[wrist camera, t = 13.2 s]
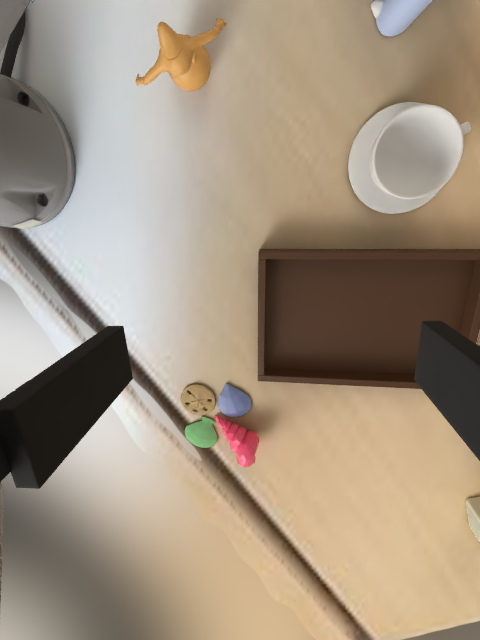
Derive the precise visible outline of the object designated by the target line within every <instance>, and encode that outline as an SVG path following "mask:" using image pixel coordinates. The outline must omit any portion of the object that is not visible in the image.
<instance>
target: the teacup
mask: <svg viewBox="0 0 480 640" xmlns="http://www.w3.org/2000/svg"><path fill="white" fill-rule="evenodd" d="M470 131H471V127H470V124H469V122H465V123H463V124H460V125H459V123H458V121H457V119H456V118H455V117H454V116H453V115H452V114H451V113H450V112H449V111H447V110H446V109H444V108H442V107H439V106H436V105H431V104H423V103H418V102H403V103H398V104H395V105H392V106H389V107H387V108H385V109H383V110H381V111H380V112H378V113H377V114H375V115H374V116H373V117H372V118H371V119H369V120H368V121H367V123H366V124H365V125H364V126H363V127H362V129H361V130H360V131H359V133H358V135H357V136H356V138H355V140H354V142H353V145H352V148H351V151H350V155H349V162H348V172H349V179H350V183H351V185H352V188H353V190H354V192H355V194H356V195H357V196H358V198H359V199H360V200H361V201H362V202H363V203H364V204H365V205H367V206H368V207H370V208H371V209H373V210H376V211H379V212H382V213H388V214H398V213H404V212H408V211H411V210H414V209H416V208H418V207H420V206H422V205H424V204H425V203H427V202H428V201H429V200H431V199H432V198H433V197H434V196H435V195H436V194H437V193H438V192H439V191H440V189H441V188H442V187H443V185H445V184H446V183H447V182H448V181H449V179H450V178H451V177H452V176H453V174H454V173H455V171H456V169H457V167H458V165H459V163H460V160H461V157H462V153H463V146H464V140H463V136H464V135H465V134H467V133H469V132H470Z"/></svg>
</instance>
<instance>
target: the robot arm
mask: <svg viewBox="0 0 480 640" xmlns="http://www.w3.org/2000/svg"><path fill="white" fill-rule="evenodd" d="M30 1H31V2H34V0H0V52H1V50H2V48H3V47H4V45H5V43H6V42H7V40H8V38H9V40H8V43H7V47H6V51H5V55H4V59H3V63H2V68H1V72H0V226H5V227H11V228H21V229H27V228H30V227H34V226H39V225H42V224H44V223H46V222H48V221H50V220H52V219H53V218H54V217H55V216H57V215H58V214H59V213H60V212H61V210H62V209H63V208H64V206H65V205H66V203H67V201H68V199H69V197H70V195H71V192H72V188H73V184H74V178H75V160H74V153H73V148H72V144H71V141H70V138H69V135H68V132H67V130H66V128H65V126H64V124H63V122H62V120H61V119H60V117H59V115H58V114H57V112H56V111H55V110H54V108H53V107H52V106H51V105H50V104H49V103H48V102H47V100H46V99H45V98H43V97H42V96H41V95H40V94H39V93H38V92H36V91H35V90H34V89H32V88H31V87H29V86H27V85H25V84H23V83H21V82H19V81H17V80H15V79H13V78H11V75H12V70H13V66H14V62H15V58H16V54H17V50H18V47H19V45H20V42H21V39H22V36H23V33H24V28H25V9H26V7H27V5H28V4H29V2H30ZM9 36H10V37H9ZM132 379H133V377H132V371H131V366H130V360H129V355H128V350H127V344H126V339H125V333H124V328H123V326H107V327H106V328H104V329H103V330H101V331H100V332H99V333H97V334H96V335H94V336H93V337H92V338H90V339H89V340H87V341H86V342H84V343H83V344H81V345H80V346H78V347H77V348H76V349H74V350H73V351H71V352H70V353H68V354H67V355H66V356H64V357H63V358H61V359H60V360H58V361H57V362H55V363H54V364H53V365H51V366H50V367H48V368H47V369H46V370H44V371H43V372H41V373H40V374H38V375H37V376H35V377H34V378H33V379H31V380H29V381H27V382H26V383H25V384H23V385H21V386H20V387H19V388H17V389H16V390H15V391H13V392H11V393H10V394H8V395H7V396H6V397H5V398H3V399H1V400H0V600H1V570H2V538H3V510H4V508H3V507H4V490H3V487H2V485H1V480H3V479H4V478H5V477H6V476H7V475H8V474H9V472H11V474H12V476H13V479H14V482H15V485H16V487H17V488H41V486H42V485H43V484H44V483H45V482H46V480H47V479H48V478H49V477H50V476H51V475H52V473H53V472H54V471H55V470H56V469H57V467H58V466H59V465H60V464H61V463H62V461H63V460H64V459H65V458H66V457H67V456H68V454H69V453H70V452H71V451H72V450H73V448H74V447H75V446H76V445H77V444H78V443H79V441H80V440H81V439H82V438H83V437H84V435H85V434H86V433H87V432H88V431H89V429H90V428H91V427H92V426H93V425H94V424H95V423H96V421H97V420H98V419H99V418H100V416H101V415H102V414H103V413H104V412H105V411H106V410H107V408H108V407H109V406H110V405H111V404H112V402H113V401H114V400H115V399H116V398H117V397H118V395H119V394H120V393H121V392H122V391H123V389H124V388H125V387H126V386H127V385H128V384H129V382H130V381H131V380H132ZM414 380H415V381H416V382H417V384H418V385H419V386H420V387H421V389H422V390H423V391H424V392H425V394H426V395H427V396H428V397H429V399H430V400H431V401H432V402H433V404H434V405H435V406H436V407H437V409H438V410H439V411H440V412H441V413H442V415H443V416H444V417H445V418H446V420H447V421H448V422H449V423H450V425H451V426H452V427H453V428H454V430H455V431H456V432H457V433H458V435H459V436H460V437H461V438H462V439H463V441H464V442H465V443H466V444H467V446H468V447H469V448H470V449H471V451H472V452H473V453H474V454H475V456H476V457H477V458H478V459H479V461H480V346H478V345H477V344H475V343H474V342H472V341H471V340H469V339H468V338H466V337H465V336H463V335H462V334H460V333H459V332H458V331H456V330H455V329H453V328H452V327H450V326H449V325H447V324H446V323H444V322H443V321H422V325H421V332H420V340H419V347H418V355H417V362H416V370H415V377H414Z"/></svg>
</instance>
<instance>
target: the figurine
mask: <svg viewBox="0 0 480 640" xmlns="http://www.w3.org/2000/svg"><path fill="white" fill-rule="evenodd" d="M216 20H217V21H218V23H217V24H216V25H215V27H214V28H213V29H212V30H211V31H207V32H204V33H202V34H199V35H198V36H194V37H189V36H188V35H182V34H177V33H175V32H174V31H173V30H172V28H171V27H169V26H168V25H167V24H166V23H164V22H160V23H159V24H158V36H159V41H160V47H161V48H160V51H159V57H158V59H157V61H156V63H155V65H154V66H153V67H152V68H151V69H150V70H149V71H148V72H147V74H146V75H145V76H144V77H139V74H138V75H137V78H136V84H137V85H139V84H140V85H147V84H149V83H150V82H151V81H153V80H154V79H155V78H156V77H157V76H158V75H159V74H161V73H162V72H169V73H170V76H171V78H172V79H173V81H174V82H175V83H176V84H177V85H178V86H179V87H180V88H182V89H184V90H187V91H195V90H198V89H200V88H201V87H202V86H203V85H204V84H205V83H206V81H207V80H208V77H209V74H210V58H209V55H208V52H207V50H206V49H205V47H204V46H203V45H204V44H206V43H208V42H210V41H212V40H213V39H214V38H216V37H217V36H218V34H219V33H220V31H221V30H222V28H223V26H225V25H226V22H225V21H224V20H222V19H216Z"/></svg>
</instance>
